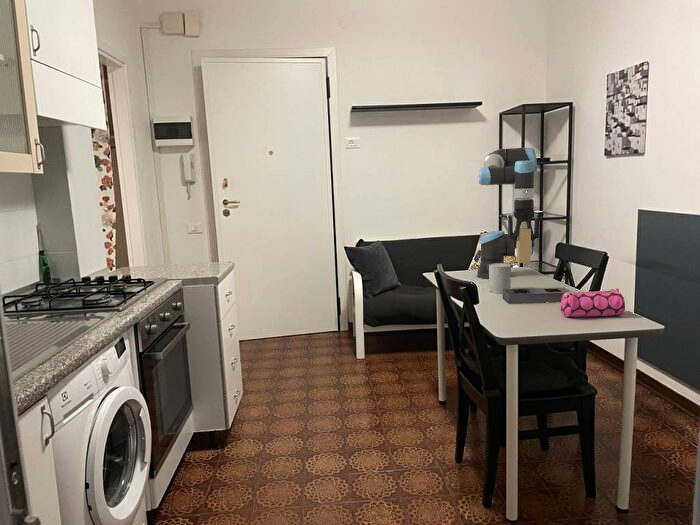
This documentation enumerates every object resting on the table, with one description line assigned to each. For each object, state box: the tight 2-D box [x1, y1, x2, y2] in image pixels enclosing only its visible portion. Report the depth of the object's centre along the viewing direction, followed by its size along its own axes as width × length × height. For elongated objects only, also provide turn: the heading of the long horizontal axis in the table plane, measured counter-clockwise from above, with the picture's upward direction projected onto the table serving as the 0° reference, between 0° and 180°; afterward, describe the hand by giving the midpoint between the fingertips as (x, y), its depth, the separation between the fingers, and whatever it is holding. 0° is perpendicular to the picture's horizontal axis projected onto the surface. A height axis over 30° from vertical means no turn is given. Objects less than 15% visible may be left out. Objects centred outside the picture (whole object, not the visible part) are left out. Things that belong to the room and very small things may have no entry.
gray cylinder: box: [488, 262, 512, 295], centre depth 241 cm, size 10×10×12 cm
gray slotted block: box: [502, 286, 572, 305], centre depth 223 cm, size 10×26×4 cm, turn 88°
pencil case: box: [559, 287, 626, 318], centre depth 197 cm, size 21×10×10 cm, turn 94°
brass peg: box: [515, 228, 531, 264], centre depth 220 cm, size 4×4×14 cm
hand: (523, 255), depth 221 cm, fingers closed on brass peg, 4 cm apart
